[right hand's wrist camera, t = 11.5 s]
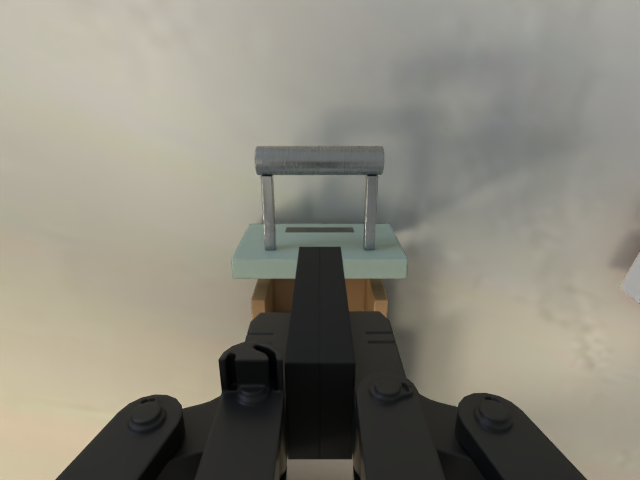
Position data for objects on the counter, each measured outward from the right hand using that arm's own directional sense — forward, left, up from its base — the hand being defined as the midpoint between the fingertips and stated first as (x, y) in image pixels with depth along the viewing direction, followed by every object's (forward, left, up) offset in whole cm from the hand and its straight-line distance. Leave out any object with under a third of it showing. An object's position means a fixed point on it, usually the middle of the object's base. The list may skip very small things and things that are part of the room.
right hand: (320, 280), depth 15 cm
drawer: (-2, -5, -13) cm, 14 cm away
